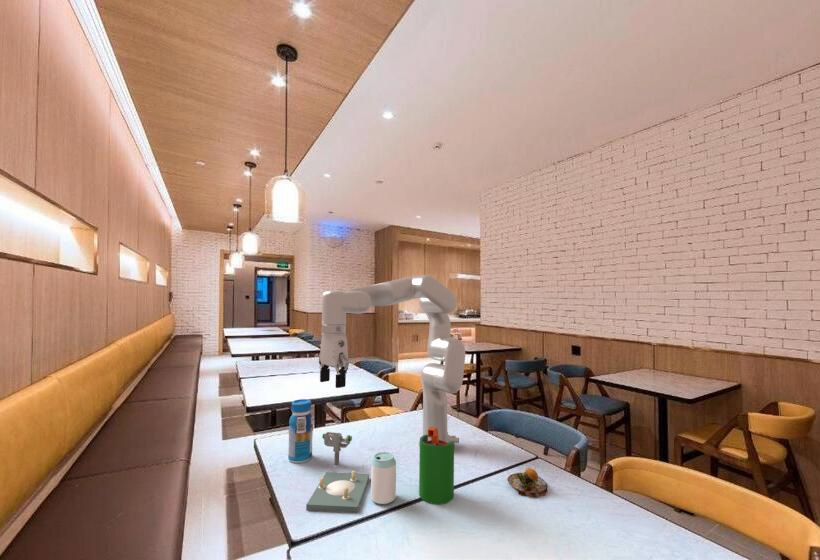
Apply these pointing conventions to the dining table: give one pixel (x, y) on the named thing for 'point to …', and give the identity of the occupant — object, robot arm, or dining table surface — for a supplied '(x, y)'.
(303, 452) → the beverage bottle
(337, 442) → the mechanical component
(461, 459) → the dining table surface
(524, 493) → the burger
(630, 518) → the dining table surface
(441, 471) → the motor
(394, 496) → the can
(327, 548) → the dining table surface
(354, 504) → the pin board
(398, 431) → the dining table surface
